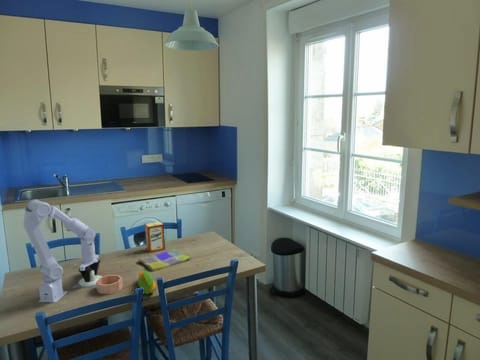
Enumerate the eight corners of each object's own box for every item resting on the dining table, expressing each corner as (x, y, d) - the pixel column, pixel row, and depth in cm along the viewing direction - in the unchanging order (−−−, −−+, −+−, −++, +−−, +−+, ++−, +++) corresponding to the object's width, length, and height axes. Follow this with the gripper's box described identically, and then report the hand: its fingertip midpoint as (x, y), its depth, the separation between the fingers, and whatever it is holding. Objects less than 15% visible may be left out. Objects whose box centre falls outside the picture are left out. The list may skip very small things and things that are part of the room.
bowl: (116, 294, 161) (115, 285, 160) (93, 294, 162) (92, 285, 161) (125, 283, 171) (124, 275, 170) (104, 283, 172) (103, 274, 171)
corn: (141, 282, 155) (132, 266, 173) (141, 299, 156) (132, 281, 174) (158, 280, 159) (148, 263, 176) (158, 296, 160) (148, 278, 177)
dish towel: (191, 261, 198) (191, 256, 197) (149, 273, 183) (149, 268, 183) (176, 251, 212) (176, 247, 211) (136, 262, 197) (136, 257, 197)
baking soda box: (149, 252, 210) (147, 226, 207) (146, 249, 216) (144, 223, 213) (165, 249, 214) (163, 223, 211) (162, 246, 220) (160, 221, 217)
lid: (97, 287, 167) (96, 276, 167) (74, 286, 168) (73, 276, 167) (107, 276, 178) (106, 267, 177) (86, 276, 179) (85, 266, 178)
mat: (97, 288, 167) (97, 287, 167) (72, 288, 168) (72, 287, 168) (108, 277, 179) (108, 276, 178) (85, 276, 179) (85, 276, 179)
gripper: (89, 257, 163) (91, 285, 165) (103, 246, 177) (105, 272, 180) (74, 257, 163) (77, 285, 166) (89, 246, 178) (92, 271, 180)
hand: (91, 278), depth 173 cm, fingers open, 6 cm apart
